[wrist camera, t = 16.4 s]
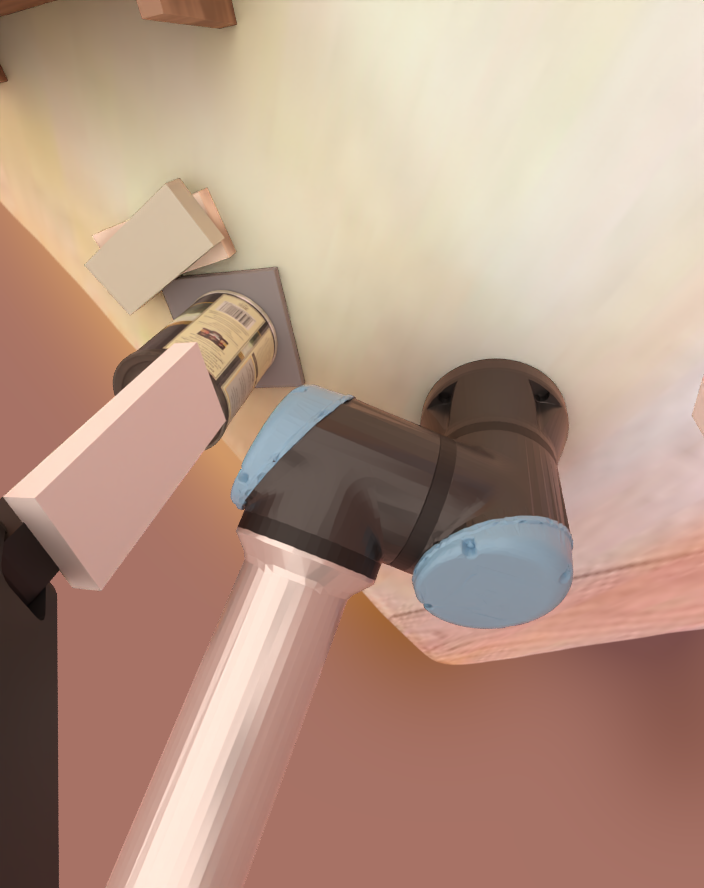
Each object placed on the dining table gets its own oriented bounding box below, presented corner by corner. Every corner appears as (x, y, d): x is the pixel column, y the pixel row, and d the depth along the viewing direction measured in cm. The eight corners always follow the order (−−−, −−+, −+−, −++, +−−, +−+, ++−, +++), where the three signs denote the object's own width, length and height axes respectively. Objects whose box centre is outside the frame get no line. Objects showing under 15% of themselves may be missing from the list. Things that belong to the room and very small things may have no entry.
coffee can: (194, 368, 57) (124, 440, 46) (183, 281, 51) (100, 341, 40) (278, 385, 56) (228, 464, 45) (279, 299, 50) (220, 365, 39)
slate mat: (304, 381, 56) (302, 386, 55) (204, 385, 60) (200, 389, 59) (277, 266, 49) (273, 270, 48) (163, 278, 52) (158, 281, 51)
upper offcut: (224, 238, 46) (213, 245, 44) (142, 306, 52) (129, 315, 50) (179, 177, 44) (165, 183, 42) (99, 257, 50) (83, 264, 48)
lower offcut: (238, 250, 49) (228, 257, 47) (139, 284, 54) (126, 292, 52) (210, 186, 46) (197, 191, 44) (106, 228, 51) (91, 235, 49)
